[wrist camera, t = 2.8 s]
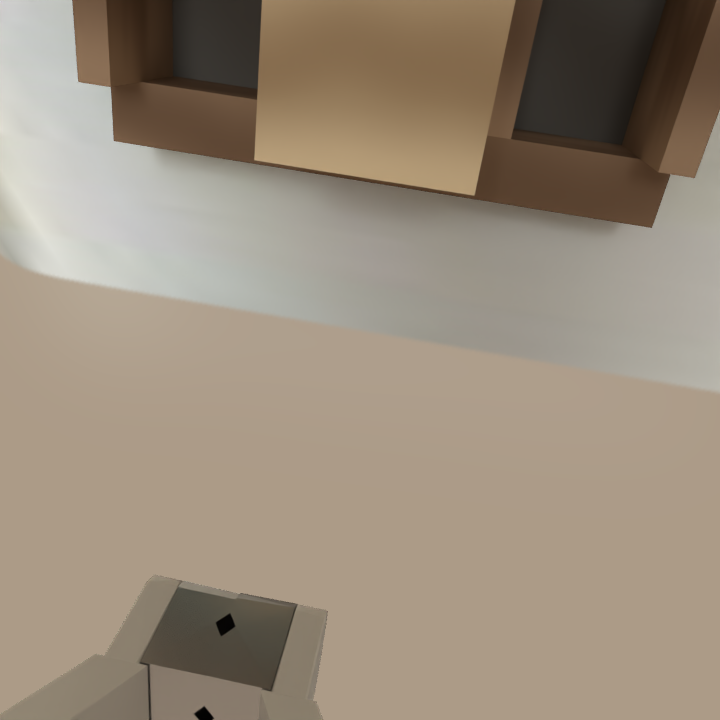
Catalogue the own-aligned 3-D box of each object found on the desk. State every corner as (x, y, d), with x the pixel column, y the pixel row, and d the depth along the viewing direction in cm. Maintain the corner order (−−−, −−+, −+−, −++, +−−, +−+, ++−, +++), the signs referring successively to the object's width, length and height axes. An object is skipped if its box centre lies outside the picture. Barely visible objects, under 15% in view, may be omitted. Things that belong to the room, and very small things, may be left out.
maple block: (304, -83, 18) (267, -109, 15) (517, -54, 18) (530, -74, 14) (288, 137, 21) (254, 160, 18) (472, 166, 21) (474, 195, 17)
